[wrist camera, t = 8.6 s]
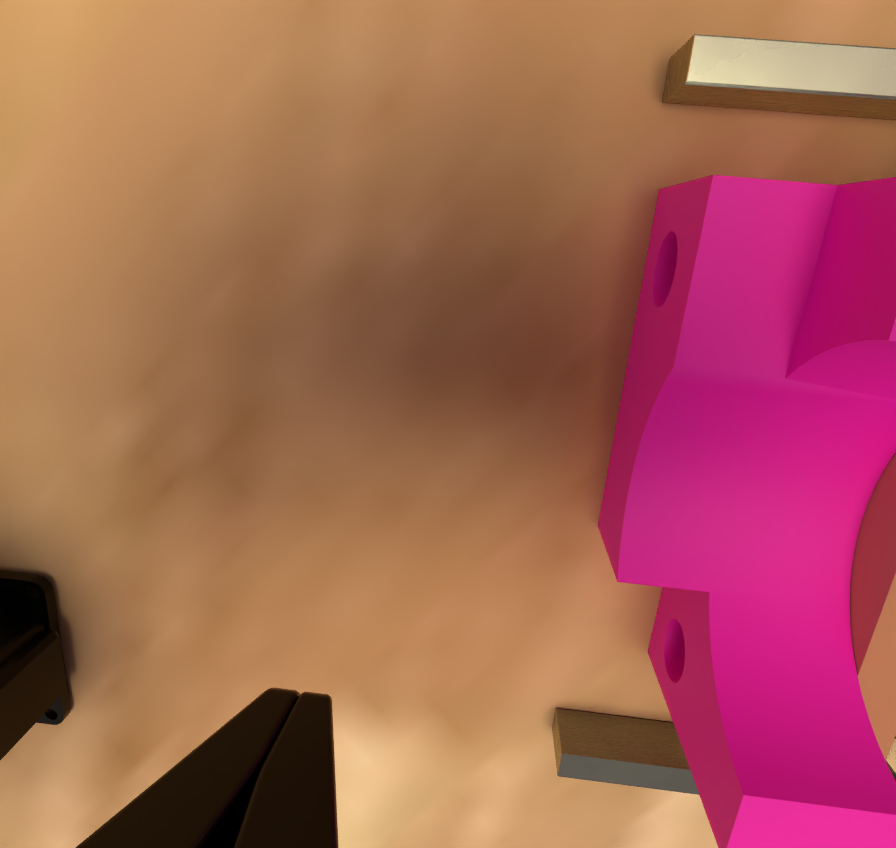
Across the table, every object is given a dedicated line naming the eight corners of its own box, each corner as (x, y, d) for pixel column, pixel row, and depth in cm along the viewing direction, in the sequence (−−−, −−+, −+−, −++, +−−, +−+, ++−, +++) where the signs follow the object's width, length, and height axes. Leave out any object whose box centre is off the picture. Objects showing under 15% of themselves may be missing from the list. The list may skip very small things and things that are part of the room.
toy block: (656, 189, 16) (779, 156, 9) (887, 209, 16) (1196, 191, 9) (575, 639, 21) (615, 844, 14) (753, 660, 21) (887, 882, 14)
